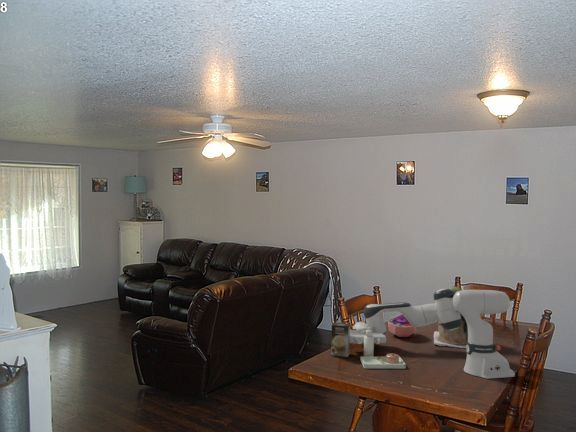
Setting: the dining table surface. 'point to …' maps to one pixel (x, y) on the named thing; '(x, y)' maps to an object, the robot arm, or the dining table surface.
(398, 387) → the dining table surface
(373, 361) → the tray
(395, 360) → the sugar pot
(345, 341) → the coffee box
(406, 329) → the cell model
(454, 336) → the cookie jar
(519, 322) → the dining table surface
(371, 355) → the bottle
